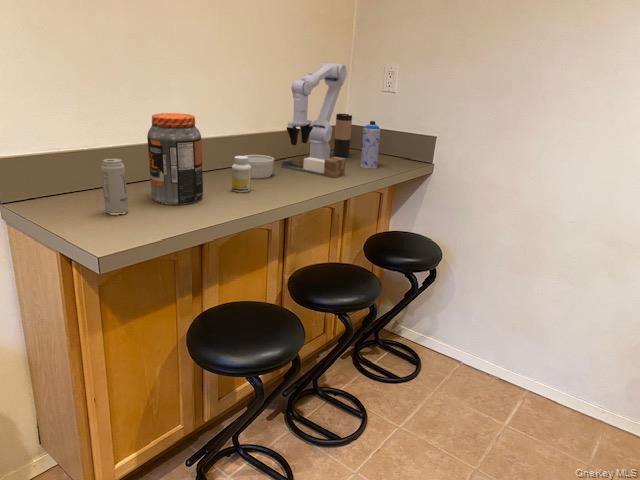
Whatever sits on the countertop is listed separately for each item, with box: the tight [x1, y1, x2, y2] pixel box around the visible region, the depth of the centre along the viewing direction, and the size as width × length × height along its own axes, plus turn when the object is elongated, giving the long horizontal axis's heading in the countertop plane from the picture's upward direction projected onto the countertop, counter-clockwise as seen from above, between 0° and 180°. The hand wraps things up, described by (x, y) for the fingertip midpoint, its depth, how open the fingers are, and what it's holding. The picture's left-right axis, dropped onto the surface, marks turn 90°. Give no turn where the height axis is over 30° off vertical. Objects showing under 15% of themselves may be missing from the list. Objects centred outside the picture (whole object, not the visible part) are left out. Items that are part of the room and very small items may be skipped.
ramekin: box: [245, 154, 275, 180], centre depth 188 cm, size 13×13×7 cm
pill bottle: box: [231, 155, 252, 193], centre depth 165 cm, size 6×6×12 cm
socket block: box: [323, 156, 347, 179], centre depth 195 cm, size 8×5×7 cm, turn 147°
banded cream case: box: [302, 156, 325, 173], centre depth 199 cm, size 5×14×5 cm, turn 57°
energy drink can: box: [100, 158, 129, 213], centre depth 134 cm, size 6×6×15 cm
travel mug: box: [333, 113, 353, 159], centre depth 233 cm, size 8×8×20 cm
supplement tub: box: [146, 112, 204, 205], centre depth 149 cm, size 16×16×26 cm
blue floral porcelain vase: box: [359, 120, 381, 170], centre depth 214 cm, size 8×8×20 cm
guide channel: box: [280, 158, 325, 177], centre depth 203 cm, size 8×22×2 cm, turn 57°
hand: (299, 143), depth 204 cm, fingers open, 7 cm apart
